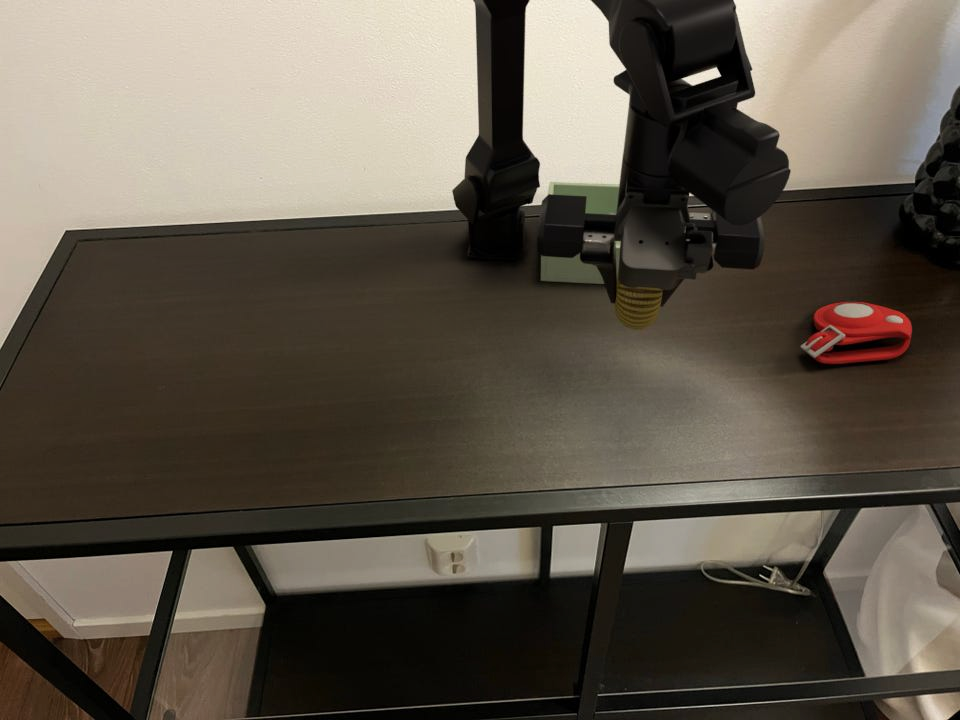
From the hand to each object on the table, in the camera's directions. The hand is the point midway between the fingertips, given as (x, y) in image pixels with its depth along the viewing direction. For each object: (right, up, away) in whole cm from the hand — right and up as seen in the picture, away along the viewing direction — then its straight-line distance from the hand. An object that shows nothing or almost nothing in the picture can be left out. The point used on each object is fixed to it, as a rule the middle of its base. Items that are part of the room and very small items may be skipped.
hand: (636, 302), depth 71 cm
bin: (0, +8, +24) cm, 26 cm away
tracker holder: (+25, -4, +11) cm, 27 cm away
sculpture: (0, -2, +2) cm, 2 cm away
